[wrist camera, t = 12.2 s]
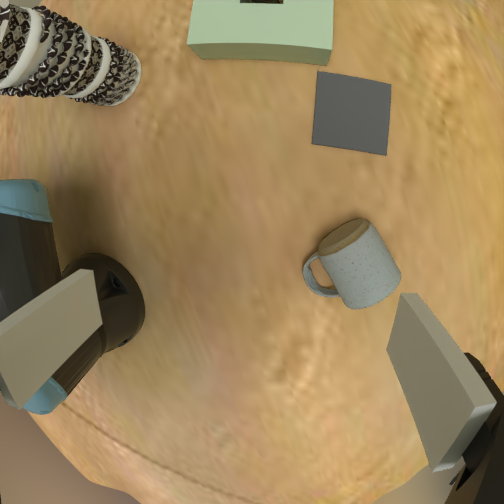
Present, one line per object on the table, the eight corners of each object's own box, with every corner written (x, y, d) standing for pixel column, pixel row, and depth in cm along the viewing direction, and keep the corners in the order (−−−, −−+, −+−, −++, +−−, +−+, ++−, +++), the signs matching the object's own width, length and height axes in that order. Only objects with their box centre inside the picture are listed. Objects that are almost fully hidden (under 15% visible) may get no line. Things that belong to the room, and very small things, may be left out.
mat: (311, 143, 34) (312, 143, 34) (317, 72, 31) (317, 71, 31) (385, 155, 33) (386, 155, 33) (390, 85, 30) (391, 84, 30)
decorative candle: (103, 45, 33) (-31, -3, 9) (154, 52, 33) (18, -21, 9) (81, 102, 36) (-65, 91, 12) (130, 115, 36) (-29, 97, 12)
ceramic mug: (361, 208, 35) (375, 222, 28) (392, 262, 37) (410, 286, 30) (289, 255, 39) (286, 279, 31) (323, 304, 40) (327, 335, 33)
